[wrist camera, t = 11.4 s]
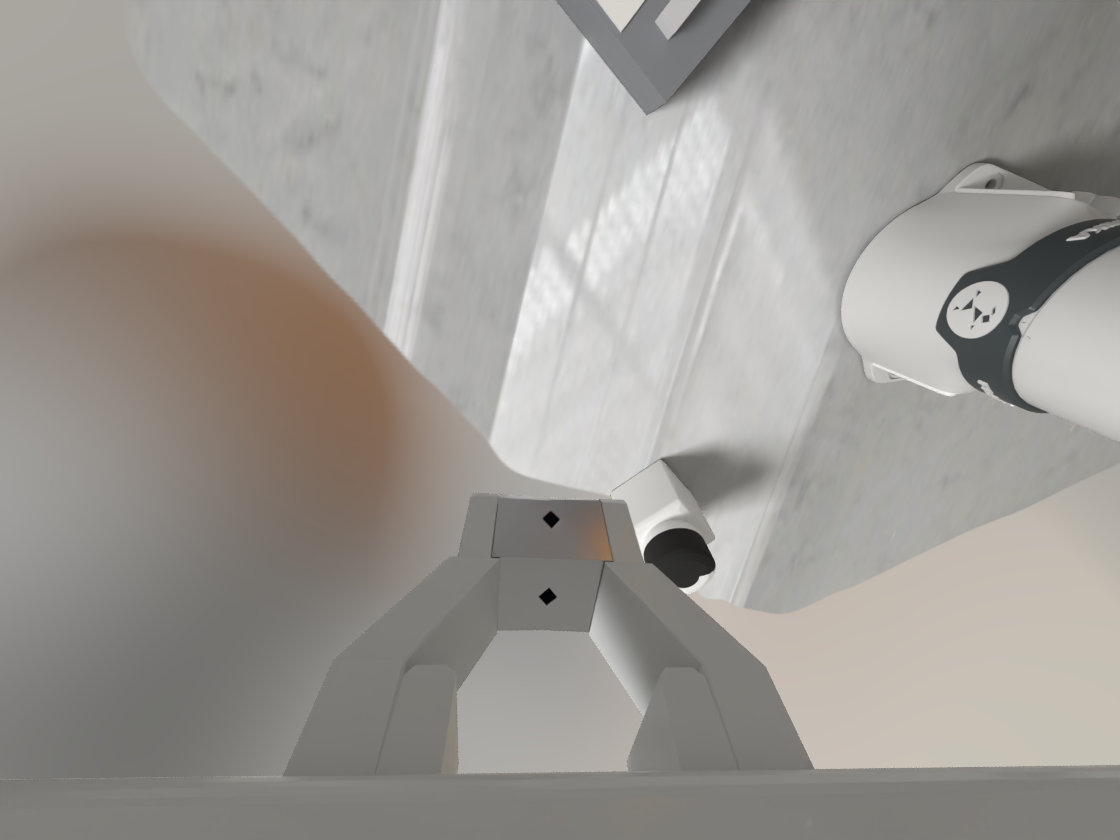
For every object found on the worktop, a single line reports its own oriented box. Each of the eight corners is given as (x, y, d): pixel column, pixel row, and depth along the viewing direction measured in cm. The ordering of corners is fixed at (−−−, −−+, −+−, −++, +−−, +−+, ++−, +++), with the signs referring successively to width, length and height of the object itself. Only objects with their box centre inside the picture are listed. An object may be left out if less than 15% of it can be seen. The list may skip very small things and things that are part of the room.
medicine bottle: (608, 492, 47) (630, 578, 37) (660, 457, 45) (699, 537, 35) (642, 526, 50) (673, 615, 40) (693, 494, 48) (738, 579, 38)
